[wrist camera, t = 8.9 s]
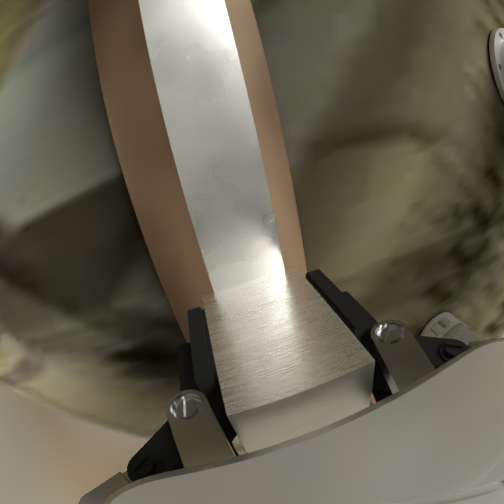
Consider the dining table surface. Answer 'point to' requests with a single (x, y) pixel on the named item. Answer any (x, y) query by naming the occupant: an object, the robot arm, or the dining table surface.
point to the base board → (160, 153)
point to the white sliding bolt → (246, 242)
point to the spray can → (450, 329)
